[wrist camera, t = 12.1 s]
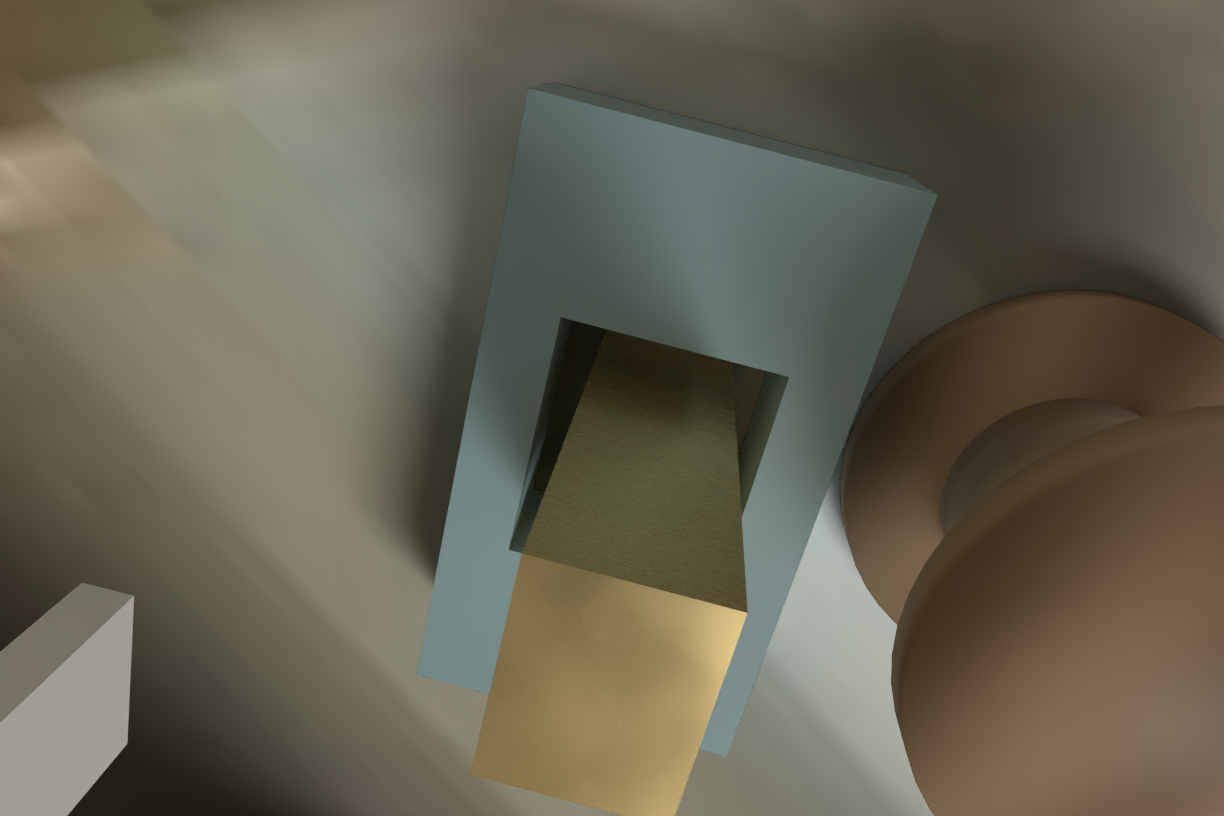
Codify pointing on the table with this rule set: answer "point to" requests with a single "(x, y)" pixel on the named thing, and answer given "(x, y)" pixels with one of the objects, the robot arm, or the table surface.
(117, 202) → the table surface
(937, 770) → the spool
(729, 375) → the tab
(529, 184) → the notch board
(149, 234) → the table surface
